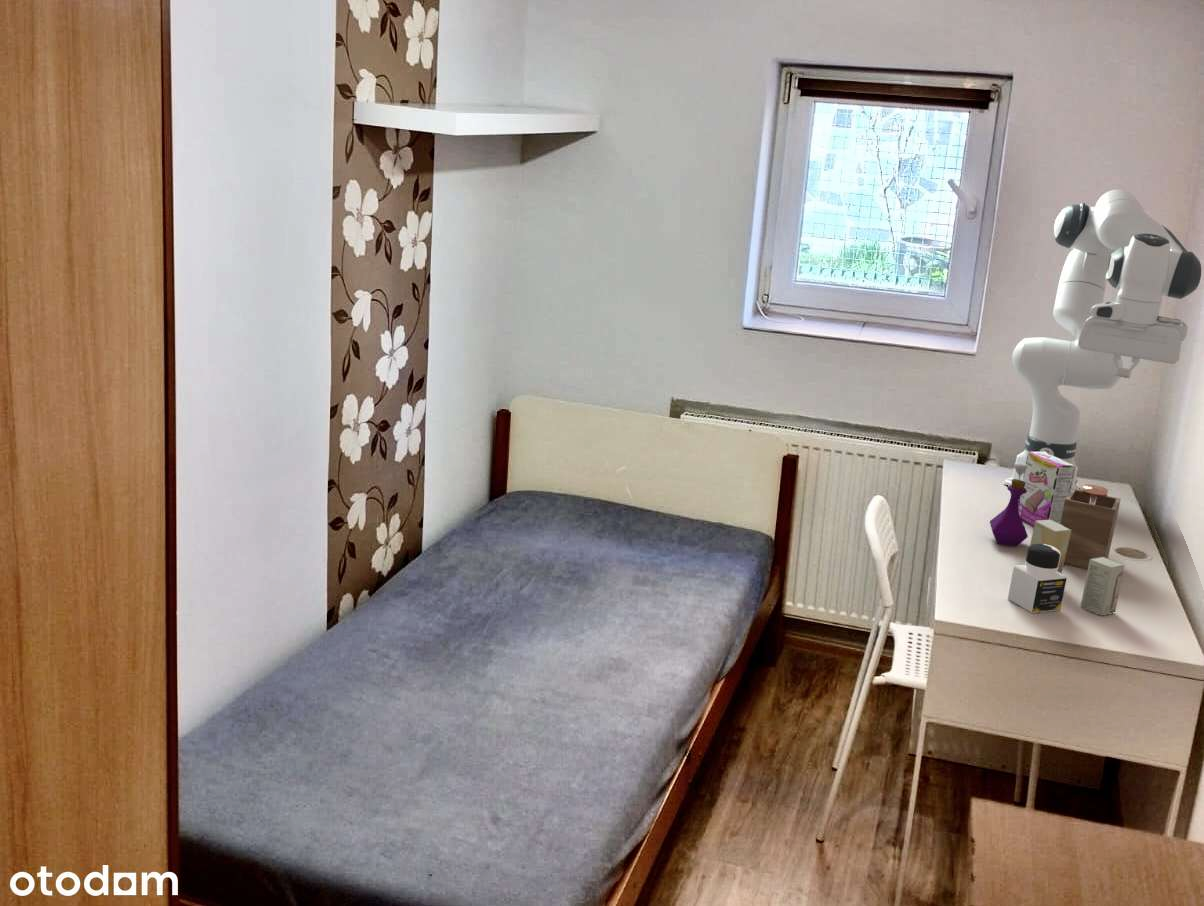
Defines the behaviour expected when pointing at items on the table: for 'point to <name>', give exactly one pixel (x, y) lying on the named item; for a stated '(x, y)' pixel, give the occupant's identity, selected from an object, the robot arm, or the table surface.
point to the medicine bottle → (1038, 580)
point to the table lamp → (1094, 492)
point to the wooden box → (1088, 527)
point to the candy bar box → (1045, 487)
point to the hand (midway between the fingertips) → (1122, 376)
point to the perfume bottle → (1011, 515)
